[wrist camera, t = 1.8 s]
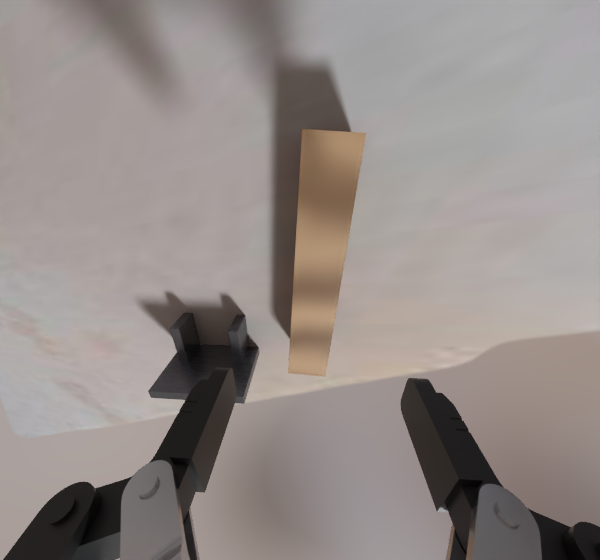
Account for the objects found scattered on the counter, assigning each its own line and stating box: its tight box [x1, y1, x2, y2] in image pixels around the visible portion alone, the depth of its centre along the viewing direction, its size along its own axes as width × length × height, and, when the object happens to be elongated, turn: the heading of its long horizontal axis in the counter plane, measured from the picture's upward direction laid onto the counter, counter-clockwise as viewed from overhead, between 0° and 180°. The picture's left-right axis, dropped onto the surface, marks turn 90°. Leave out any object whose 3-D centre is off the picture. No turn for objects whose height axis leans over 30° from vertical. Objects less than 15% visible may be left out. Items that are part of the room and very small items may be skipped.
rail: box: [288, 129, 366, 376], centre depth 21 cm, size 22×4×5 cm, turn 176°
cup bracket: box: [148, 313, 259, 403], centre depth 25 cm, size 6×10×7 cm, turn 89°
